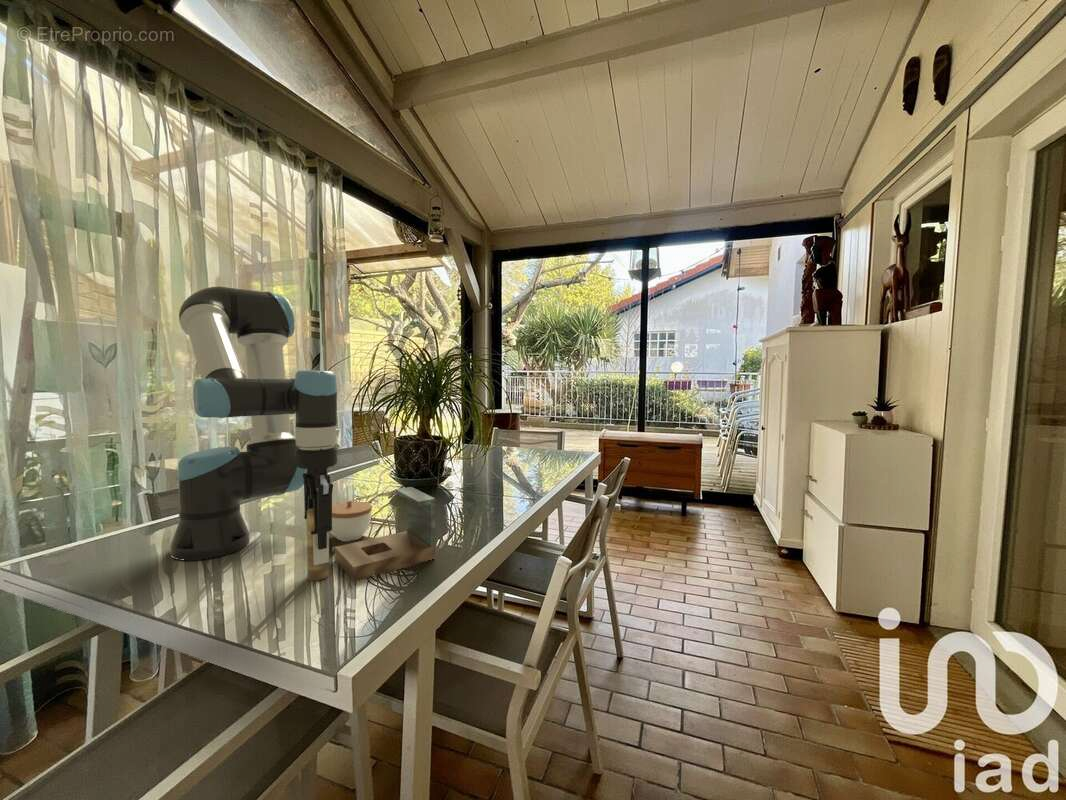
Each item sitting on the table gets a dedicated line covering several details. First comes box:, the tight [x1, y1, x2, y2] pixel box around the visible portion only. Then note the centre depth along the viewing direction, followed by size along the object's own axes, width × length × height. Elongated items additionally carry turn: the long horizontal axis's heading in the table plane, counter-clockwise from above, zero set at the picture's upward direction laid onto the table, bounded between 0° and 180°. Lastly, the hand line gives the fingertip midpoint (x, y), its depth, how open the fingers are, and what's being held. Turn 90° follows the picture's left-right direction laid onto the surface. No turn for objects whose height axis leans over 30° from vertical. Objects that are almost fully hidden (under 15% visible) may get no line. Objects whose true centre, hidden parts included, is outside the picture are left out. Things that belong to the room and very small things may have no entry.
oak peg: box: [306, 508, 330, 582], centre depth 91 cm, size 4×4×14 cm
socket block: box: [334, 486, 436, 582], centre depth 100 cm, size 18×13×14 cm
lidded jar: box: [329, 500, 373, 542], centre depth 113 cm, size 11×11×9 cm
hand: (318, 559), depth 91 cm, fingers closed on oak peg, 4 cm apart
